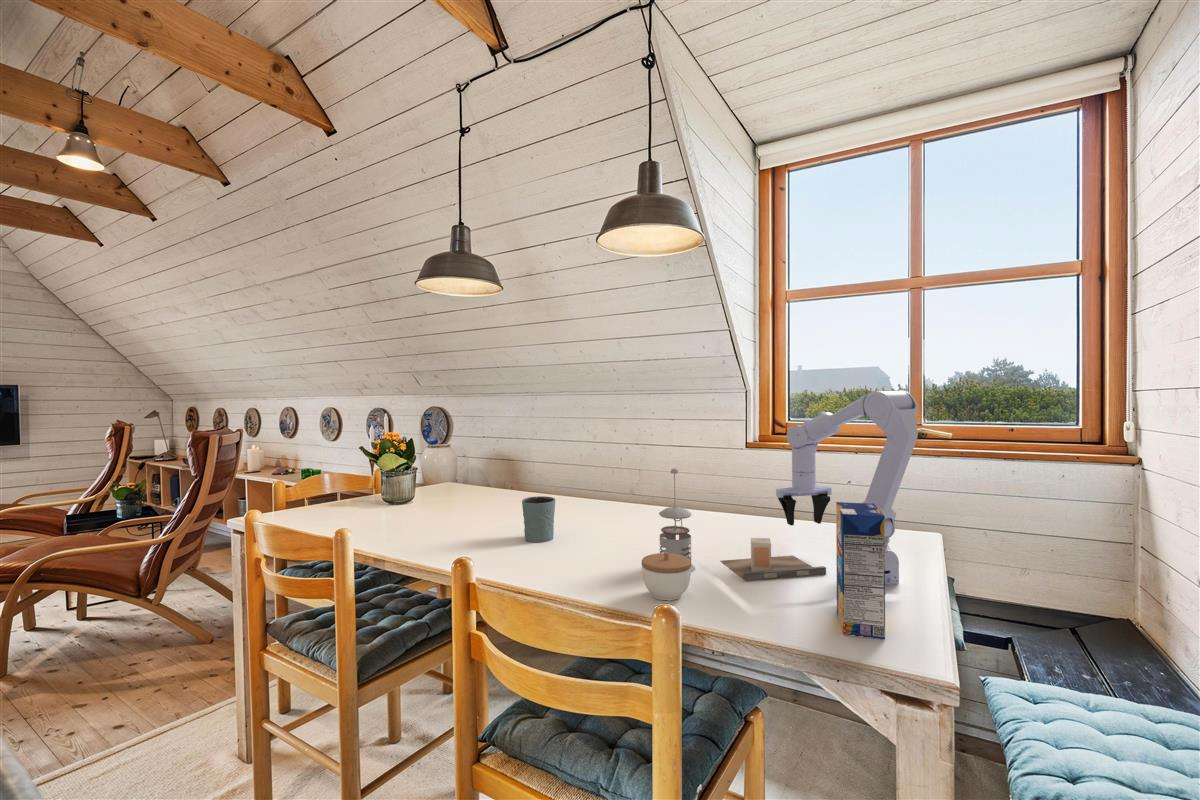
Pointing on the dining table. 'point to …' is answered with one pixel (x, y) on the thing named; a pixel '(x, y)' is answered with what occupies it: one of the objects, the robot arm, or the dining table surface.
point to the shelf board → (774, 568)
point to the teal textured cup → (538, 518)
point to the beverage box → (860, 569)
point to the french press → (676, 531)
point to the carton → (760, 554)
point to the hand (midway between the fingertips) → (804, 523)
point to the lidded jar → (666, 575)
